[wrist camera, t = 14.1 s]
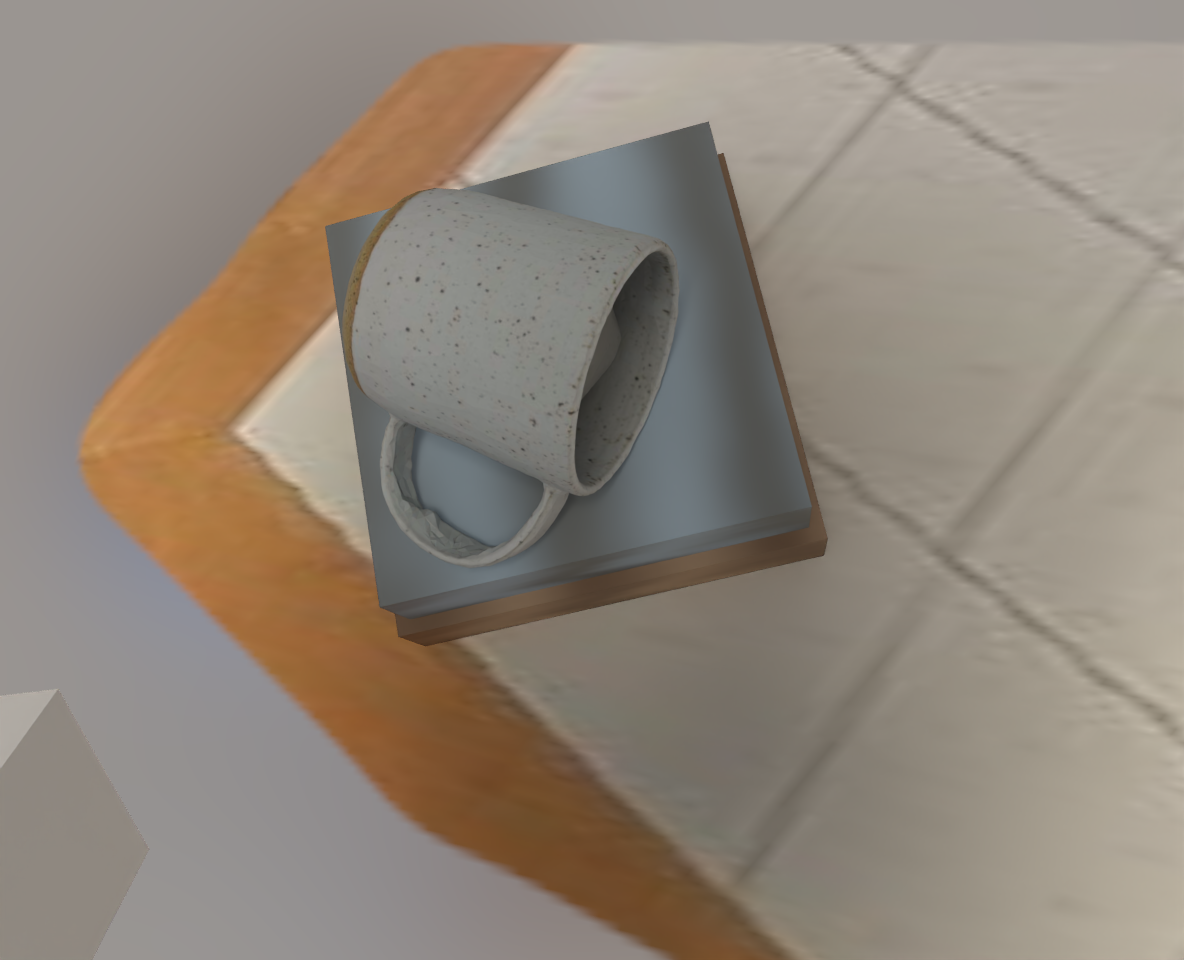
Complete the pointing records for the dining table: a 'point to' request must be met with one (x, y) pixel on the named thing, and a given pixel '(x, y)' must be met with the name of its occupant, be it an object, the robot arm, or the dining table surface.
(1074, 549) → the dining table surface
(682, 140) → the grey and brown block
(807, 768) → the dining table surface
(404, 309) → the ceramic mug
